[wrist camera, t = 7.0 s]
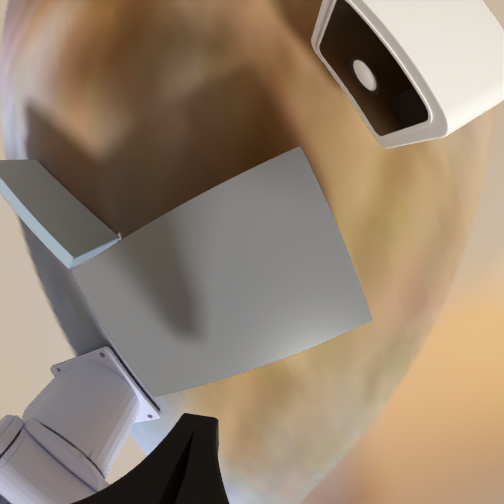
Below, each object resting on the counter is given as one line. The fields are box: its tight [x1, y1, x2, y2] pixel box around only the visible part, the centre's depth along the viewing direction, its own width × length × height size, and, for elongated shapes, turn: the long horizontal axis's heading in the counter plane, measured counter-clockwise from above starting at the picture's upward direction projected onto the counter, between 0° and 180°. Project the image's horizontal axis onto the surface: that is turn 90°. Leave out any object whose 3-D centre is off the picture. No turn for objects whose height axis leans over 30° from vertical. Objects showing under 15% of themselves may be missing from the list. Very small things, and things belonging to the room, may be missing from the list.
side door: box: [0, 160, 119, 269], centre depth 15 cm, size 10×2×5 cm, turn 52°
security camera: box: [311, 0, 504, 149], centre depth 10 cm, size 6×7×10 cm
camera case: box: [72, 146, 372, 397], centre depth 15 cm, size 12×8×6 cm, turn 116°
